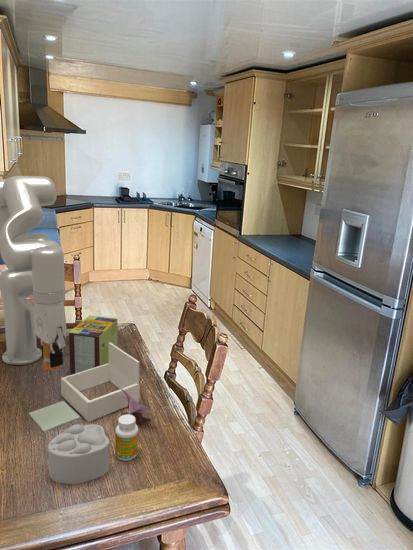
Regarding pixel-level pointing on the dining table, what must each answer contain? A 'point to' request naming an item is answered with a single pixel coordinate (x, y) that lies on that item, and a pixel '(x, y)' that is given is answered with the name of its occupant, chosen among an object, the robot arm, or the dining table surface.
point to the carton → (117, 371)
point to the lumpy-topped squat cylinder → (79, 454)
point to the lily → (135, 405)
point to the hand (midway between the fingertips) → (52, 361)
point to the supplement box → (48, 356)
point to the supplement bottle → (126, 438)
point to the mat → (54, 416)
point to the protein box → (91, 343)
